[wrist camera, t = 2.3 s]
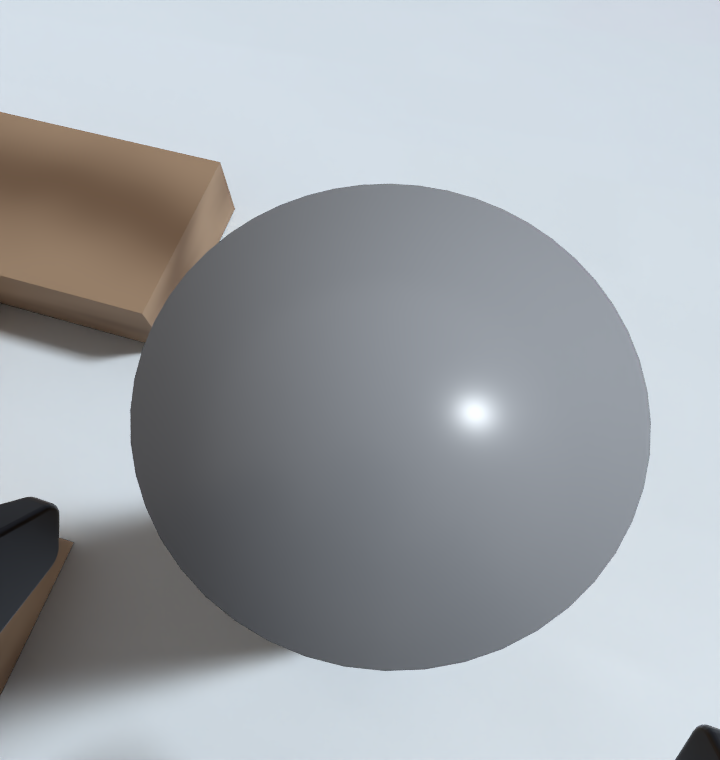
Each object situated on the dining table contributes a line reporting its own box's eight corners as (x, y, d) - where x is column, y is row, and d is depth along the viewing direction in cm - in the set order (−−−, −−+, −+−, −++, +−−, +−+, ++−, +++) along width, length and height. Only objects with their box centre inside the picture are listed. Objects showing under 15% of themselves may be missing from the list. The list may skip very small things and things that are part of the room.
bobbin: (441, 675, 16) (640, 800, 4) (256, 614, 17) (1, 579, 5) (482, 488, 19) (692, 231, 7) (316, 440, 19) (234, 129, 7)
